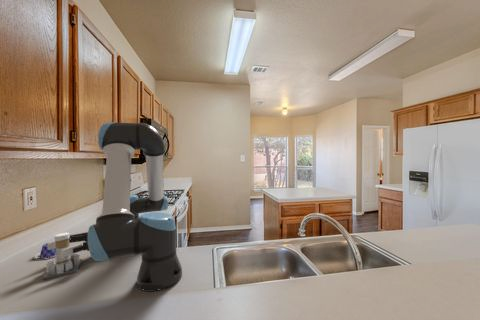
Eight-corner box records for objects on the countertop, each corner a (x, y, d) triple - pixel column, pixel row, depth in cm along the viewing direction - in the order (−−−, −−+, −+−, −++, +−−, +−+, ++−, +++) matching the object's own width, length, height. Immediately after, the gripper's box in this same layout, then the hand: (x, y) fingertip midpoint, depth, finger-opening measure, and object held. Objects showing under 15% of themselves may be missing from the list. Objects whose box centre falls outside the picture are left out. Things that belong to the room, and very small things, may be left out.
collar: (76, 272, 82) (76, 261, 82) (43, 279, 78) (42, 269, 78) (81, 261, 91) (81, 251, 91) (51, 267, 86) (51, 257, 86)
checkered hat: (29, 257, 97) (29, 245, 97) (62, 247, 108) (61, 236, 107) (38, 263, 91) (37, 251, 91) (72, 252, 101) (71, 241, 101)
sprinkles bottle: (67, 263, 87) (65, 231, 87) (73, 265, 85) (71, 232, 85) (53, 269, 83) (52, 235, 83) (60, 271, 81) (58, 236, 81)
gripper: (126, 245, 94) (68, 267, 75) (98, 235, 107) (43, 252, 88) (125, 228, 93) (67, 246, 75) (97, 220, 106) (42, 235, 88)
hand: (54, 250), depth 82 cm, fingers open, 13 cm apart
